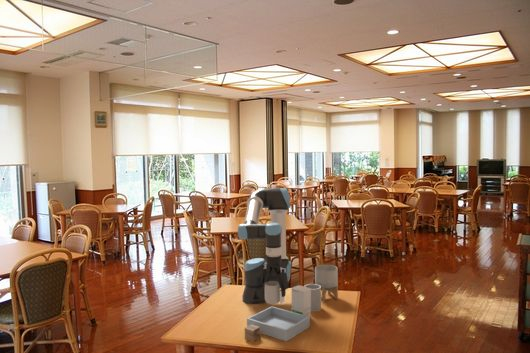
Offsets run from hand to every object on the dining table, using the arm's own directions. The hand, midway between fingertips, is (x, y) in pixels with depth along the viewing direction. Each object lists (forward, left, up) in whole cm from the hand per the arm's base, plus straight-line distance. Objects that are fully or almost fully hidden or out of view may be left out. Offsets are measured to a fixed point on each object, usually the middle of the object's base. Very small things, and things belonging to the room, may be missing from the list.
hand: (274, 300), depth 211 cm
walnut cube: (+16, -1, -13) cm, 21 cm away
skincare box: (-17, +4, -13) cm, 22 cm away
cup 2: (-31, +2, -13) cm, 34 cm away
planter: (-49, 0, -13) cm, 51 cm away
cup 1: (0, 0, 0) cm, 1 cm away
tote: (0, +2, -13) cm, 13 cm away
